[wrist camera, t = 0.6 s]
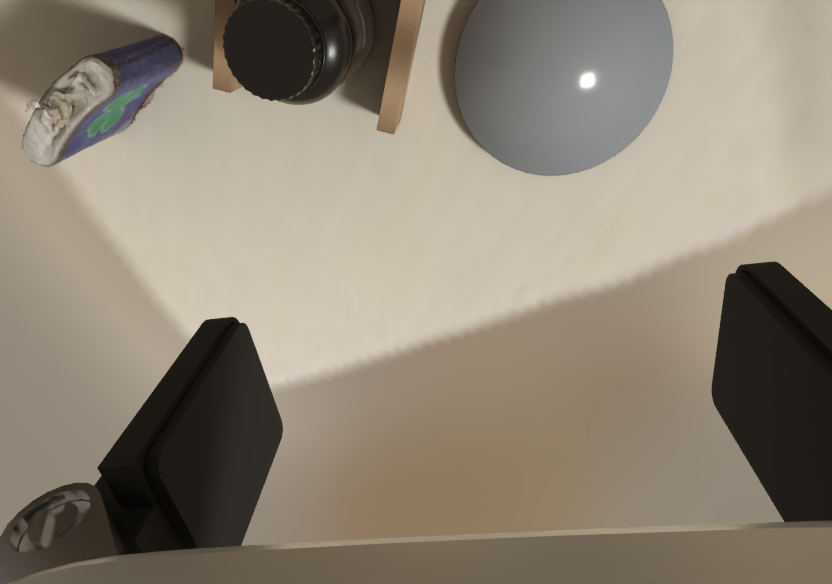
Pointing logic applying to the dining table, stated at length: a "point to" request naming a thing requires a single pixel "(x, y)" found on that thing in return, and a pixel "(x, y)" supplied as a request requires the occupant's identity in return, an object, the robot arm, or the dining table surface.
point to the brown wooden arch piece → (397, 67)
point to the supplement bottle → (297, 46)
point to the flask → (98, 98)
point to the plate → (561, 79)
